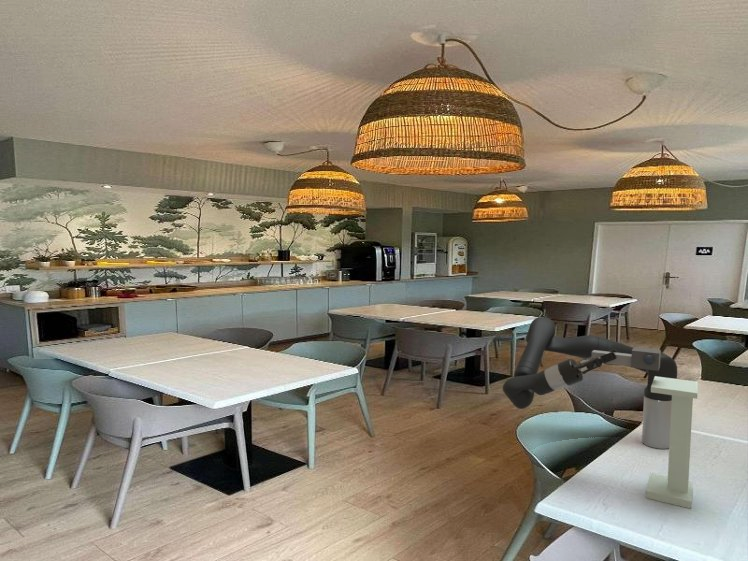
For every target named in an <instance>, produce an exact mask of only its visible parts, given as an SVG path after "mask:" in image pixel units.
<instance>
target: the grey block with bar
mask: <svg viewBox="0 0 748 561" xmlns="http://www.w3.org/2000/svg"><path fill="white" fill-rule="evenodd" d="M661 352H662V351H661V349H655V348H648V347H647V348H645V347H637V346H635V347H633V349H632V354H625V353H616V352H614V353H615V355H616V359H614V360H612V361H609V362H607V363H606V364H605V365H608V364H614V365H613V366H623V367H629V366H630V367H629V368H632V369H635V368H639V369H647V370H655V371H659V368H660V356H661ZM608 353H610V352H607V351H598V350H593V351H592V357H591V358H594V359H595V358H597V357H600V356H603V355H605V354H608ZM601 358H602V357H601Z"/></svg>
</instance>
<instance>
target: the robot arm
mask: <svg viewBox="0 0 748 561" xmlns="http://www.w3.org/2000/svg"><path fill="white" fill-rule="evenodd" d="M556 329H557V328H556V324H555V323H554V321H553V320H552V319H550V318H548V317H546V316H538V317H535V318H534V319H533V320H532V321H531V322H530V325H529V328H528V329H527V333H526V335H525V341H526V343H527V344H526V346H525V348H524V350H523V352H522V354H521V356H520V358H519V361H518V362H517V364H516V366H515V370H514V373H513V377H510V378H508V379H507V380H506V381H504V383H503V385H502V391H503V393H504V394H505V396H506V397H507V398H508V399H509V401H510V402H511V404H512V405H513V406H514V407H515V408H517V409H520V410H523V409H527V408H528V407H530V405H531V404H532V402H533V401H534V398H535V394H536V395H537V396H538V395H539V396H545V395H547V394H549V393H551V392H555V391H558V390H562V389H566V388H567V387H570V386H573V385H575V384H578V383H581V382H582V381H583V379H584V376H583V375H586V374H589V373H590V372H592V371H594V370H597V369H598V368H601V367H602V366H604V365H609V366H615V365H614V364H606V363H607V362H609V361H612V360H614V359H616V355H615V353H614V352H616V353H625V354H632V349H633V348H634V347H633V346H630V345H627V344H624V343H622V342H619V341H616V340H613V339H608V338H605V337H600V336H597V335H591V334H590V335H582V336H581V335H580V336H576V337H561V336H555V334H556ZM593 350H598V351H607V352H610V353H608V354H605V355H603V356H600V357H597V358H595V359H594V358H591V357H592V351H593ZM545 351H546V352H552V353H558V354H563V355H568V356H572V357H577V358H581V360H580V361H578V363H577V362H576V361H575V360H574V359H573V358H568V359H565V360H563V361H562V362H559V363H556V364H553V365H551V366H550V367H548V368H546V369H544V370H542V371H540V372H539V368H540V365H541V363H542V362H541V361H542V359H543V355H544V352H545ZM601 357H602V358H601ZM628 367H629V368H631V367H630V366H628ZM634 369H636V370H638V371H641V372H644V373H646V374H647V384H646V387H644V390H643V407H642V408H643V409H642V410H643V411H642V428H641V429H642V431H641V433H642V434H641V443H642V444H643V443H644V444H643V445H645V446H647V447H650V448H653V449H659V450H662V449H663V450H664V449H665V450H666V449H669V444H670V425H671V405H672V395H667V394H660V393H653V392H651V386H652V383H653V380H654V377H655V376H657V377H665V378H673V379H678V365H677V362H676V361H675V360H674V358H673V357H671V356H669V355H668V354H666V353H664V352H662V351H661V356H660V368H659V371H655V370H647V369H639V368H634Z"/></svg>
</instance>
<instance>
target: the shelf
mask: <svg viewBox="0 0 748 561" xmlns="http://www.w3.org/2000/svg"><path fill="white" fill-rule="evenodd" d="M698 386H699V381H695V380H687V379H679V378H677V379H673V378H665V377H657V376H655V377H654V380H653V383H652V386H651V392H653V393H660V394H667V395H672V405H671V425H670V444H669V448H668V450H669V451H668V467H667V469H668V470H667V475H663V474H660V473H654V472H650V473H649V477H648V480H647V485H646V489H645V498H646V499H650V500H653V501H657V502H663V503H666V504H670V505H675V506H678V507H679V506H680V507H683V508H686V509H692V503H693V502H692V497H693V481H692V480H690V479H689V476H690V462H691V460H690V459H691V440H692V422H693V419H692V418H693V404H694V403H693V402H694V399H695V400H696V399H698V394H699V393H698V392H699V391H698V389H699V388H698Z"/></svg>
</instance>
